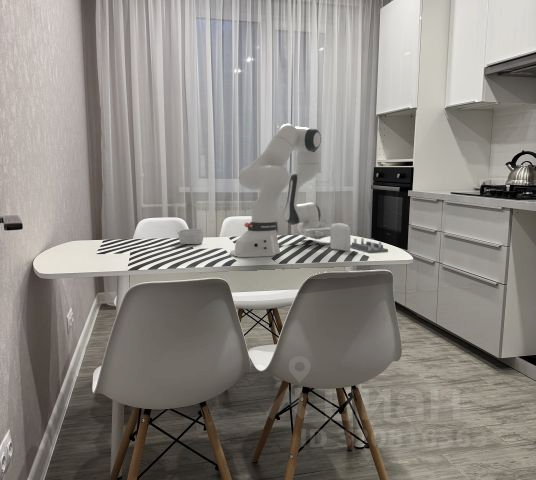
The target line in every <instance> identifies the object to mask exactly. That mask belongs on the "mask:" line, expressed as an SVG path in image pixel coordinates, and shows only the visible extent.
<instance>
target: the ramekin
mask: <svg viewBox="0 0 536 480" xmlns="http://www.w3.org/2000/svg"><path fill="white" fill-rule="evenodd" d="M204 233H205V231H204V229H202V228H201V229H200V228H188V229H181V230H178V231H177V234H178V241H179V244H180V245H181V244H199V245H201V244H203V241H204ZM200 243H201V244H200Z"/></svg>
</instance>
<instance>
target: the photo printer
mask: <svg viewBox="0 0 536 480" xmlns="http://www.w3.org/2000/svg"><path fill="white" fill-rule="evenodd" d="M332 224H333V225H331V228H330V236H329V239H330V244H329V245H330V249H331V250H338V251H344V252H349V251H351V248H350V245H351V226H349V225H348V224H346V223H342V222H337V223H332Z"/></svg>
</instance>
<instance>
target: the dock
mask: <svg viewBox="0 0 536 480" xmlns="http://www.w3.org/2000/svg"><path fill="white" fill-rule="evenodd" d="M364 242H365V240H364V238H363V237H362V238H361V239H360V243H357V238H353V242H351V244H350V249H353V250H357V251H361V252H363V253H368V254H371V253H373V254H374V253H381V251H385V252H389V250H388V249H389V248H385V247H384V245H383V244H382V242H381V241H378V243H376V242H372V241H368V240H367V241H366V242H365V243H364Z"/></svg>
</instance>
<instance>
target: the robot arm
mask: <svg viewBox="0 0 536 480" xmlns="http://www.w3.org/2000/svg"><path fill="white" fill-rule="evenodd" d="M321 143H322V135H321V133H320V131H319V130H318V129H317V128H314V127H301V126H294V125H293V124H290V123H286V124H282V125H281V126H280V127H279V128H278V130H277V131H276V132H275V133H274V134H273V136H272V138H271V140H270V141H269V143H268V144H267V146H266V147H265V149H264V150H263V152H262V153H261V154H260V155H259V156H258V157H257V158H255V160H253V161H252V162H251V163H250V164H249V165H246V166H245V167H243V168H241V170H240V171H239V174H238V181H239V185H240V186H241V187H242V188H244V189H247V190H249V191H250V190H251V191H259V194H258V197H257V199H256V200H254V201H253V202H252V204H251V221H250V222H245V223H244V224H243V226H244V227H245V228H247V231H245V232H244V233H243V234H241V236H239V237H238V238H237V239H236V241H235V244H234V250H230V251H229V254H230V256H233V255H234V256H233V257H235V256H237V257H236V258H255V257H256V258H258V257H259V258H260V257H274V256H277V255H278V254H280V253H281V250H280V245H279V239H278V230H279V227H278V221H277V207H278V201H279V197H280V196H281V194H282V192H283V191H284V190H285V189H286V188H287V186H288V191H287V197H286V198H287V199H286V203H285V207H284V212H283V216H284V220H285V221H286V222H287V224H289V225H292V226H294V225H297V230H298V232H299V234H300V235H302V236H304V237H306V238H311V239H314V240H322V239H325V238H330V228H331V225H333V224H334V223H329V222H328V223H327V222H321V221H320V220H321V216H322V215H321V210H320V206H318V205H317V204H316V203H315V202H313V201H312V202H305V203H299V204H297V202H298V196H299V190H300V188H301V187H302V186H303V185H304V184H306V183H307V182H310V181H311V180H313V179H314V178H315V177H316V176H317V175H318V174H319V169H320V155H319V148H320V145H321ZM293 151H297V153H296V167H295V169H294V173H292V174H291V175H290V173H289V170H288V168H286V167H284V166H285V165H286V164H287V162H288V160H289V158H290V156H291V155H292V153H293Z"/></svg>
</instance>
